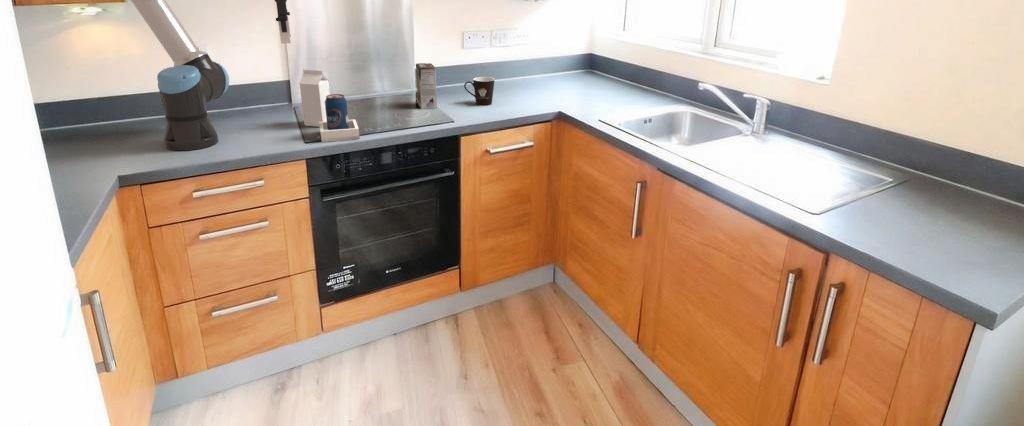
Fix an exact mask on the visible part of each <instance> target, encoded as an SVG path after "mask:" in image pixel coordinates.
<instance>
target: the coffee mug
mask: <svg viewBox="0 0 1024 426" xmlns="http://www.w3.org/2000/svg"><path fill="white" fill-rule="evenodd" d="M472 81H473V82H472ZM472 81H469V80H468V81H466V82H465V83H464V85H463V86H464V90H465V91H466V92H467V93H468V94H470V95H471V96H473V97H474V98H475V104H476V106H481V107H483V106H484V107H486V106H492V104H493V96H494V90H495V89H494V88H495V78H494V77H490V76H478V77H474V78H472ZM467 84H471V85H472V88H473V89H474V93H472V92H471V91H469V90H468V89H467V87H466V85H467Z"/></svg>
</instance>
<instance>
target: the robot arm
mask: <svg viewBox="0 0 1024 426" xmlns="http://www.w3.org/2000/svg"><path fill="white" fill-rule="evenodd" d="M130 1H131V3H132V4H133V5H134V7H135V8H136V9H137V11H138V13H139V14H140V16H141V17H142V18H143V20H144V22H146V24H147V25H148V27H149V29H150V30H151V31H152V33H153V35H154V36H155V37H156V39H157V40H158V42H159V44H161V46H162V47H163V49H164V50H165V52H166V53H167V54H168V56H169V57H170V59H171V61H172V62H173V66H169V67H166V68H163V69H162V70H160V71H159V72H158V73H157V75H156V79H157V87H158V90H159V95H160V98H161V99H160V100H161V103H162V107H163V112H164V116H165V122H166V124H165V131H164V138H163V141H164V146H165V148H166V149H168V150H172V151H195V150H201V149H205V148H209V147H212V146H214V145H216V144H217V143H219V136H218V133H217V131H216V129H215V127H214V125H213V124H212V122H211V121H210V118H209V116H208V111H207V105H206V104H208V103H210V102H211V101H214V100H215V101H216V99H219V98H220V97H222V96H223V95H224V94H225V93H226V92H227V91H228V89H229V85H230V76H229V74H228V72H227V70H226V68H225V67H224V66H223V65H222V64H221V63H218V62H216V61H213V60H212V59H211V57H210V55H209V54H208V53H207V52H206V51H205V52H204V51H201V50H200V49H199V48H198V46H197V45H196V43H195V42H194V40H193V39H192V37H191V35H190V34H189V33H188V31H187V30H186V29H185V27H184V25H183V24H182V22H181V21H180V19H179V18H178V17H177V15H176V14H175V12H174V11H173V9H172V8H171V5H169V3H168V1H167V0H130ZM287 1H288V0H274V2H275V3H276V10H277V11H276V12H277V17H275V22H277V23H278V28H279V29H278V30H279V36H280V44H291V38H292V37H291V27H290V22H289V20H290V19H289V16H291V12H290V11H288V8H287Z"/></svg>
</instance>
